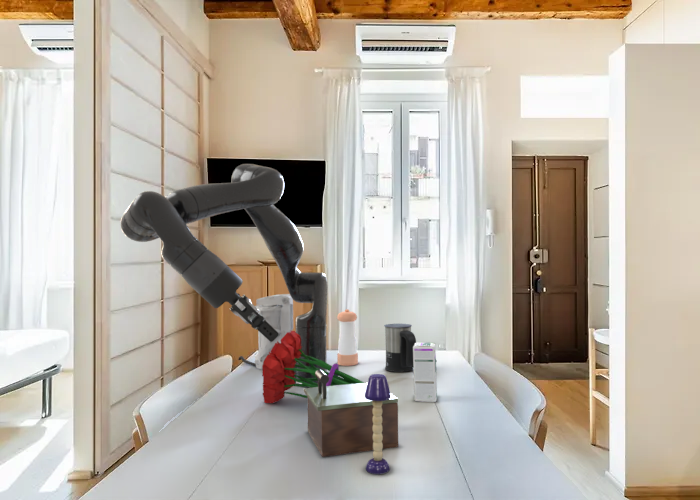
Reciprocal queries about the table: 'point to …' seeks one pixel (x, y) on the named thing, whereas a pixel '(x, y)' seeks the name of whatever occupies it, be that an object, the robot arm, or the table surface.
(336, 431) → the crate
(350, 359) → the pepper shaker
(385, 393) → the toy lamp
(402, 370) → the milk frother
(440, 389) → the table surface
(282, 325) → the lantern
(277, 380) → the bouquet
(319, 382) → the green lid with handle
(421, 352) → the syrup box
